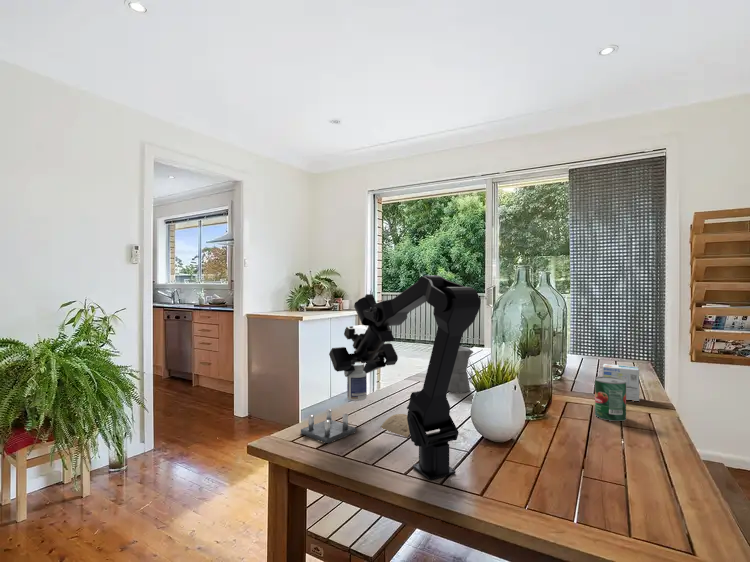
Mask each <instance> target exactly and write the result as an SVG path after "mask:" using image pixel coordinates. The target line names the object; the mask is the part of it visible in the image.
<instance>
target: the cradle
mask: <svg viewBox="0 0 750 562" xmlns="http://www.w3.org/2000/svg"><path fill="white" fill-rule="evenodd" d="M332 412H333V411H332V408H327V409H326V414H325V415H326V419H325V420H323V421H320V422H318V423H315V415H314V414H308V426H306V427H303V428H300V435H303V436H305V435H306V436H305V437H307V438H311V439H313V438H314V440H316V441H318V440H319V441H318V442H321V441H322V442H321V443H324V442H325V443H324V444H326V443H328V444H330V443H333V442H335V441H337V439H338V440H340V439H343V438H345V437H347V435H348V436H350V435H353V434H355V433H356V432H357V431H356V427H355V426H352V425H349V413H342V422H340V421H336V420H333V419H332V417H333V416H332V415H333V413H332ZM354 432H355V433H354ZM352 433H353V434H352ZM349 434H350V435H349ZM344 436H345V437H344ZM342 437H343V438H342ZM339 438H340V439H339ZM334 440H335V441H334ZM332 441H333V442H332Z"/></svg>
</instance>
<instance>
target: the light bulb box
mask: <svg viewBox="0 0 750 562" xmlns="http://www.w3.org/2000/svg"><path fill="white" fill-rule="evenodd" d="M602 377H614V378H619V379H623V380H625V381H626V399H627V400H634V401H639V402H640V395H641V394H640V369H639V366H632V365H621V364H611V363H610V364H609V363H604V364H602ZM634 401H633V402H634Z"/></svg>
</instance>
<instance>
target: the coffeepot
mask: <svg viewBox="0 0 750 562" xmlns="http://www.w3.org/2000/svg"><path fill="white" fill-rule="evenodd" d="M473 353H474V351H473V350H471V349H470V348H468V347H465V346H462V345H460V346H459V349H458V353H457V357H456V361H455V364H454V368H453V372H452V375H451V379H450V383H449V387H448V390H447V392H450V393H454V392H459V394H461V393H460V392H465V393H468V392H470V390H471V387H470V381H469V376H468V371H467V368H468V366H469V360H470V357H471V356H472V354H473ZM467 391H468V392H467Z"/></svg>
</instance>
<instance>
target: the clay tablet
mask: <svg viewBox="0 0 750 562" xmlns="http://www.w3.org/2000/svg"><path fill="white" fill-rule="evenodd" d="M407 415H408V414H405V413H397V414H393V415H391V416H389V417H388V418H386V419H385V421H384V422H383V423H382V425H381V426H380V428H381V427H382V428H383V429H386V430H385V431H387V430H388V431H387V432H390V431H391V432H390V433H393V434H397V435H400V436H402V437H405V438H408V437H409V436H410V431H409V426H408V421H407ZM383 429H382V430H383Z"/></svg>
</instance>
